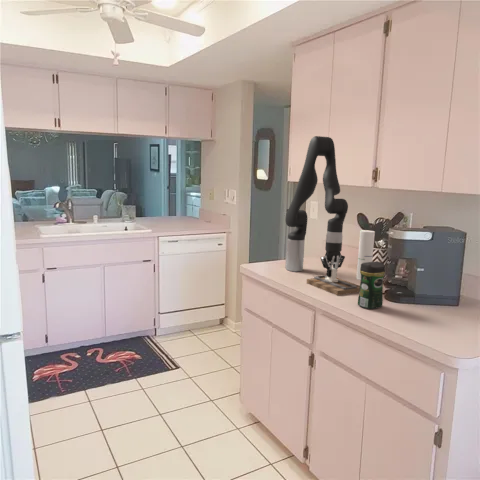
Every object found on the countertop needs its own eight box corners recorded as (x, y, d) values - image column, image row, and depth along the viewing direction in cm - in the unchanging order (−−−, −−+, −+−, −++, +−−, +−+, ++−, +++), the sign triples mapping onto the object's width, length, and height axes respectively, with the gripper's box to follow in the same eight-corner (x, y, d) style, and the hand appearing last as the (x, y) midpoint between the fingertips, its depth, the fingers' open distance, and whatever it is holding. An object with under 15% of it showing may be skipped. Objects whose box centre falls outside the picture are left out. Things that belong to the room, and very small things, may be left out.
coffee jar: (370, 302, 172) (374, 259, 169) (385, 307, 165) (389, 263, 162) (353, 304, 168) (357, 260, 165) (368, 310, 161) (372, 265, 158)
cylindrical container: (371, 281, 206) (375, 232, 202) (356, 280, 208) (360, 231, 204) (369, 277, 213) (374, 230, 209) (355, 276, 215) (359, 229, 211)
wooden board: (306, 283, 199) (306, 277, 199) (331, 279, 207) (332, 274, 206) (337, 295, 180) (337, 289, 180) (363, 291, 188) (364, 285, 187)
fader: (324, 280, 196) (325, 267, 195) (330, 279, 198) (331, 267, 197) (331, 282, 192) (332, 270, 191) (338, 282, 194) (338, 269, 193)
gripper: (339, 239, 199) (337, 273, 201) (317, 240, 192) (315, 276, 195) (350, 241, 192) (348, 277, 195) (327, 243, 185) (325, 280, 188)
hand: (331, 276), depth 195 cm, fingers closed on fader, 2 cm apart
